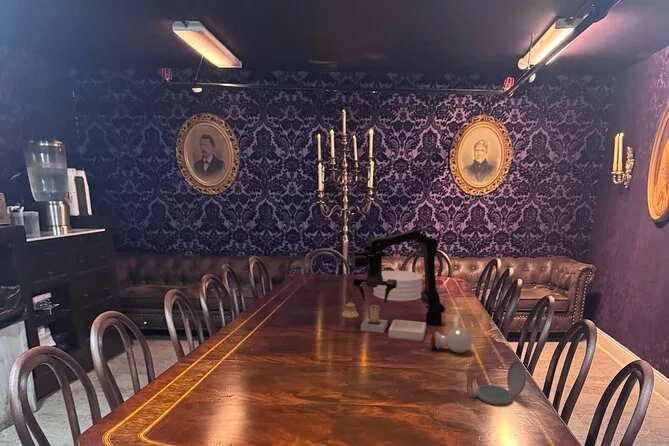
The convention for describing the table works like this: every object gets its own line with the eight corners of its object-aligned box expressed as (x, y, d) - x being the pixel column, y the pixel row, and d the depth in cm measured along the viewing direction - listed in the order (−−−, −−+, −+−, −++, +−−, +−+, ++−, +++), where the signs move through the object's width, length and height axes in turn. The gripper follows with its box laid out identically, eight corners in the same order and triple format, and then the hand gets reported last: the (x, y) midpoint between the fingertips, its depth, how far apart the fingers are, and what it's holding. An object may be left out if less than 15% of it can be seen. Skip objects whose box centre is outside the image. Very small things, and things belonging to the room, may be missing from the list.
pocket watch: (529, 369, 117) (477, 369, 117) (528, 406, 118) (475, 407, 117) (513, 355, 127) (465, 355, 127) (512, 389, 128) (463, 390, 127)
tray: (425, 330, 181) (426, 322, 181) (422, 341, 168) (423, 333, 167) (393, 327, 185) (393, 319, 185) (388, 337, 172) (388, 329, 172)
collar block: (387, 325, 187) (387, 320, 187) (383, 332, 177) (383, 327, 177) (365, 323, 190) (365, 318, 190) (360, 330, 180) (360, 324, 180)
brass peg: (379, 327, 185) (379, 305, 184) (377, 330, 181) (378, 307, 180) (370, 326, 186) (371, 304, 185) (368, 329, 182) (369, 306, 182)
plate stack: (365, 291, 250) (365, 272, 249) (403, 287, 262) (404, 269, 261) (390, 303, 225) (390, 282, 224) (432, 297, 237) (432, 277, 236)
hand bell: (357, 318, 197) (357, 285, 196) (340, 317, 199) (340, 284, 198) (359, 313, 206) (360, 281, 204) (343, 312, 207) (343, 280, 206)
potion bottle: (474, 358, 155) (432, 358, 159) (472, 336, 162) (432, 336, 166) (472, 343, 149) (429, 344, 154) (470, 321, 156) (429, 322, 161)
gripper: (349, 268, 176) (349, 304, 178) (393, 271, 171) (393, 308, 172) (356, 264, 187) (355, 298, 188) (397, 266, 182) (397, 301, 183)
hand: (374, 301), depth 183 cm, fingers open, 9 cm apart
